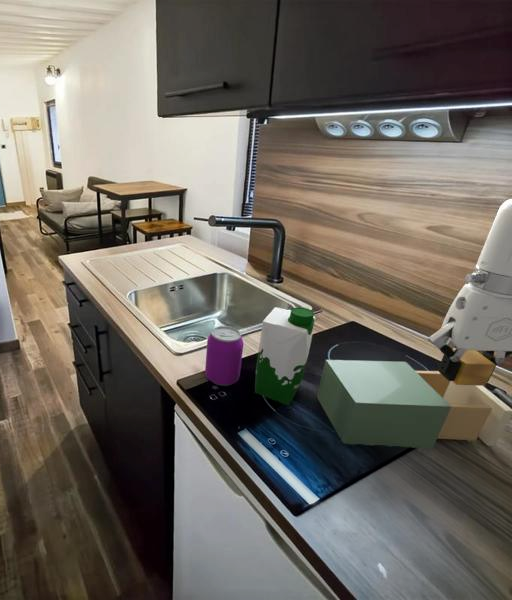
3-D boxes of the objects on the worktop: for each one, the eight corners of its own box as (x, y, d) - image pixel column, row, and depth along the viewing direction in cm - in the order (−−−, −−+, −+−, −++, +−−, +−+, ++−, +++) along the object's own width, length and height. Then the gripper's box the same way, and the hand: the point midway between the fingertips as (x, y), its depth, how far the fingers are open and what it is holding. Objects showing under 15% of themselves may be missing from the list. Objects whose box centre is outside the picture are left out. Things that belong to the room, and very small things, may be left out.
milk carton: (292, 410, 74) (310, 324, 65) (248, 393, 79) (259, 311, 71) (304, 387, 80) (321, 306, 71) (262, 373, 85) (273, 295, 77)
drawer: (479, 402, 72) (495, 369, 69) (531, 447, 62) (553, 412, 58) (375, 397, 74) (385, 366, 71) (408, 441, 64) (422, 407, 61)
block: (466, 370, 66) (475, 349, 64) (485, 386, 62) (495, 364, 60) (438, 369, 66) (447, 349, 64) (456, 385, 62) (465, 363, 60)
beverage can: (210, 389, 81) (213, 343, 76) (201, 368, 88) (203, 325, 83) (244, 386, 81) (250, 341, 76) (232, 366, 88) (237, 323, 83)
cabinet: (392, 400, 75) (405, 361, 71) (432, 448, 64) (451, 406, 60) (316, 397, 77) (325, 359, 73) (343, 444, 66) (355, 402, 62)
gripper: (461, 290, 54) (422, 388, 62) (594, 291, 51) (536, 393, 59) (428, 272, 60) (396, 362, 68) (545, 272, 58) (498, 365, 66)
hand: (462, 375), depth 64 cm, fingers closed on block, 4 cm apart
